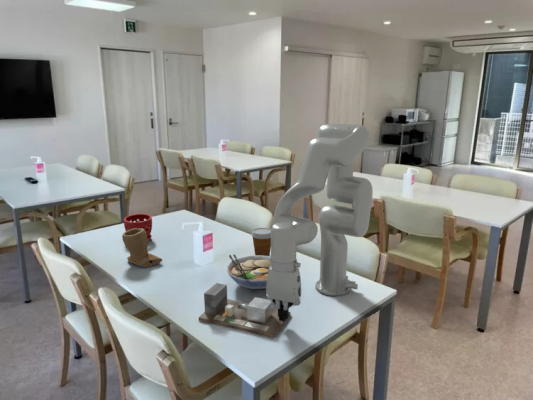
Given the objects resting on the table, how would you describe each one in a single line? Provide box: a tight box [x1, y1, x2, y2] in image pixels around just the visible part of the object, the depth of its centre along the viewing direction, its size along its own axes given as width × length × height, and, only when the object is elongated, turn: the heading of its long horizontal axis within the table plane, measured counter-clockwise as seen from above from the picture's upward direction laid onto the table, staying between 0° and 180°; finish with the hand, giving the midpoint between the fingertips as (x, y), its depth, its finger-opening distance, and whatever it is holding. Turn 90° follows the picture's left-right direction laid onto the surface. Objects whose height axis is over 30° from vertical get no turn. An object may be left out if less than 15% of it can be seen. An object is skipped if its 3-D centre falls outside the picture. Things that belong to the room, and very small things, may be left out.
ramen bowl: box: [226, 254, 271, 290], centre depth 154 cm, size 25×23×8 cm
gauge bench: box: [198, 282, 291, 339], centre depth 131 cm, size 26×14×8 cm, turn 67°
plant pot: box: [123, 213, 153, 242], centre depth 200 cm, size 13×13×12 cm
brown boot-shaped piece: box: [121, 228, 163, 268], centre depth 173 cm, size 15×12×15 cm
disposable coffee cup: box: [251, 227, 271, 256], centre depth 180 cm, size 10×10×12 cm
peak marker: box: [222, 304, 234, 317], centre depth 130 cm, size 2×5×3 cm, turn 157°
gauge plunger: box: [238, 296, 274, 324], centre depth 130 cm, size 10×6×5 cm, turn 67°
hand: (283, 319), depth 127 cm, fingers closed
